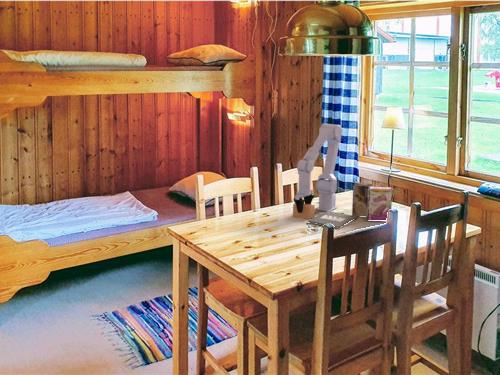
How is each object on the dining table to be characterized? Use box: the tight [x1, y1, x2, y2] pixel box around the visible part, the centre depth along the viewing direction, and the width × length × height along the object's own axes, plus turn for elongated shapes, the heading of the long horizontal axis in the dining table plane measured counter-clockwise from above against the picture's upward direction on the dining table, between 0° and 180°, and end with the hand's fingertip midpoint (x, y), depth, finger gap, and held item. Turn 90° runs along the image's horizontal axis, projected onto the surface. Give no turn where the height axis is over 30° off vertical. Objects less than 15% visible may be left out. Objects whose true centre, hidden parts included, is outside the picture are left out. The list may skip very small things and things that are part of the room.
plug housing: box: [292, 203, 316, 220], centre depth 279 cm, size 5×10×6 cm, turn 56°
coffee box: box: [351, 182, 374, 216], centre depth 280 cm, size 9×6×16 cm
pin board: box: [307, 210, 358, 229], centre depth 273 cm, size 20×16×5 cm
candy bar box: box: [365, 186, 394, 221], centre depth 272 cm, size 11×5×16 cm, turn 84°
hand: (303, 210), depth 279 cm, fingers open, 7 cm apart
